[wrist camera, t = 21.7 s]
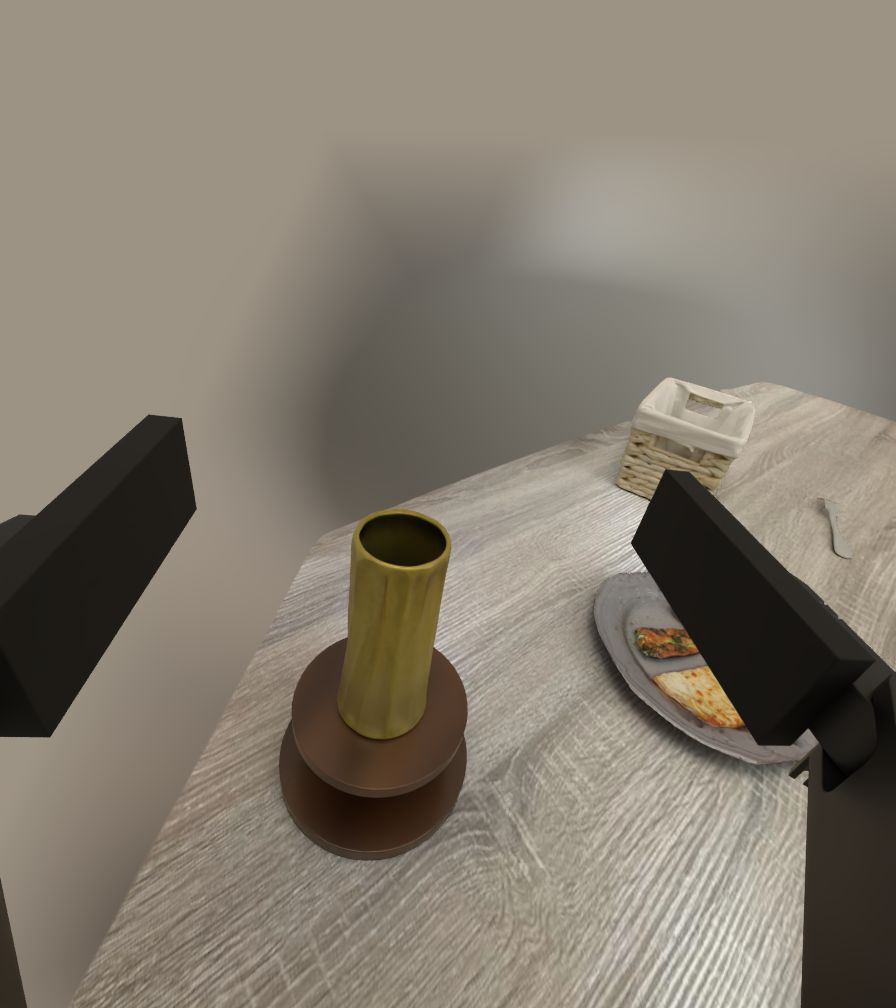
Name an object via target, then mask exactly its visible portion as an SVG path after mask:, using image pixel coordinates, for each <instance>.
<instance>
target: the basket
mask: <svg viewBox="0 0 896 1008" xmlns="http://www.w3.org/2000/svg"><path fill="white" fill-rule="evenodd" d="M688 399H691V400H695V401H696V402H700V403H703V404H707V405H709V406H712V407H716V408H720V409H721V411H720V414H719V416H718V417H717V418H711V417H707V416H704V415H701V414H698V413H695V412H693V411H690V410H688V409H686V407H685V406H686V404H687V401H688ZM755 414H756V409H755V406H754V405H753V403H752V402H751V401H748V400H743V399H740V398H737V397H734V396H731V395H728V394H724V393H721V392H718V391H715V390H711V389H708V388H705V387H701V386H698V385H695V384H692V383H688V382H683V381H680V380H677V379H674V378H666V379H665V380H663V381H662V382H661V383H660V384H659V385H658V386H657V387H656V388H655V389H654V390H653V391H652V392H651V393H650V394H649V395H648V396H647V397H646V398H645V399H644V400H643V401H642V403H641V404H640V405H639V407H638V409H637V412H636V415H635V417H634V419H633V421H632V425H631V431H630V435H629V439H628V442H627V447H626V449H625V454H624V455H623V457H622V461H621V466H620V471H619V474H618V477H617V480H616V484H617V485H618V486H619V487H621V488H623V489H625V490H628V491H631V492H633V493H635V494H638V495H640V496H643V497H646V498H648V499H650V500H651V499H652V497H653V495H654V492H655V490H656V488H657V486H658V484H659V482H660V479H661V477H662V475H663V473H664V471H665V469H669V470H678V471H688V472H690V473H691V474H692V475H693V476H694V477H695V478H696V479H697V480H698V481H699V482H700V483H701V484H702V485H703V486H704V487H705V488H706V489H707V490H708V491H709V492H710V493H711V494H712V495H714V491H715V490H717V488H718V487H719V485H720V483H721V481H722V478H723V477H724V476H725V472H727V471H728V469H729V465H730V464H731V463H732V462H733V460H735V459H736V458H739V456H740V454H741V452H742V449H743V447H744V445H745V444H746V441H747V439H748V437H749V435H750V432H751V429H752V425H753V421H754V418H755Z"/></svg>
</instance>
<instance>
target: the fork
mask: <svg viewBox="0 0 896 1008" xmlns="http://www.w3.org/2000/svg"><path fill="white" fill-rule="evenodd" d="M817 499H820V500H823V501H825V507H826V509H827V510H828V511H829V513H830V521H831V525H832V529H833V537H834V550H835V552H836V554H838V555H839V556H841V557H843V558H846V559H848V558H852V557H853V556H852V551H851V549H850V547H849V545H848V543H847V541H846V540H845V538H844V537H843V535H842V533H841V531H840V530H839V528H838V525H837V523H836V515H838V514H840V513H842V512H843V507H842V505H840V504H839V503H836V502H833V501H830V500H826V499H823V498H817Z"/></svg>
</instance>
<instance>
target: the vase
mask: <svg viewBox="0 0 896 1008" xmlns="http://www.w3.org/2000/svg"><path fill="white" fill-rule="evenodd" d="M450 552H451V539H450V536H449V534H448V532H447V530H446V529H445V528H444V527H443V526H442V525H441V524H440V523H439V522H438V521H436V520H435V519H433V518H431V517H429V516H426V515H424V514H422V513H419V512H415V511H411V510H405V509H391V510H382V511H378V512H375V513H372V514H370V515H368V516H366V517H365V518H363V519H362V520H361V521H360V522H359V524H358V525H357V527H356V529H355V531H354V534H353V538H352V546H351V569H350V590H349V606H348V641H347V648H346V654H345V659H344V665H343V669H342V675H341V681H340V686H339V690H338V694H337V703H338V709H339V713H340V715H341V717H342V718H343V720H344V721H345V723H346V724H347V725H348V726H349V727H351V728H352V729H353V730H354V731H356V732H357V733H359V734H360V735H362V736H365V737H368V738H372V739H391V738H395V737H398V736H400V735H402V734H404V733H406V732H408V731H409V730H411V729H412V728H413V727H414V726H415V725H416V724H417V723H418V722H419V720H420V719H421V717H422V716H423V713H424V711H425V708H426V693H427V685H428V678H429V672H430V665H431V659H432V653H433V646H434V640H435V635H436V630H437V624H438V617H439V611H440V605H441V599H442V593H443V587H444V582H445V577H446V572H447V567H448V563H449V558H450Z"/></svg>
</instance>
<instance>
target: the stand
mask: <svg viewBox="0 0 896 1008" xmlns="http://www.w3.org/2000/svg"><path fill="white" fill-rule="evenodd" d="M347 641H348V637H347V638H345V639H342V640H340V641H338V642H336V643H334V644H333V645H331V646H329V647H328V648H326V649H325V650H324V651H322V652H321V653H320V654H319V655H318V656H317V657H315V659H314V660H313V661H312V662H311V663H310V664H309V665H308V667H307V668H306V670H305V671H304V672H303V674H302V676H301V678H300V680H299V682H298V684H297V687H296V689H295V692H294V697H293V702H292V719H291V721H290V723H289V725H288V727H287V729H286V732H285V735H284V738H283V741H282V746H281V751H280V760H279V771H280V783H281V790H282V794H283V798H284V801H285V804H286V806H287V809H288V811H289V813H290V815H291V817H292V818H293V820H294V822H295V823H296V825H297V826H298V827H299V828H300V829H301V831H302V832H303V833H304V834H305V835H306V836H307V837H308V838H309V839H310V840H312V841H313V842H314V843H315V844H317V845H319V846H320V847H322V848H323V849H325V850H327V851H329V852H331V853H334V854H336V855H338V856H342V857H346V858H350V859H357V860H380V859H385V858H390V857H394V856H397V855H399V854H402V853H405V852H407V851H409V850H411V849H413V848H415V847H417V846H419V845H420V844H421V843H423V842H424V841H425V840H427V839H428V838H429V837H431V836H432V835H433V834H434V833H435V832H436V831H437V830H438V829H439V828H440V827H441V825H442V824H443V823H444V821H445V820H446V819H447V818H448V816H449V814H450V813H451V811H452V809H453V807H454V806H455V803H456V801H457V798H458V796H459V794H460V791H461V788H462V784H463V780H464V777H465V771H466V763H467V751H466V743H465V738H464V730H465V727H466V722H467V698H466V693H465V689H464V686H463V683H462V681H461V679H460V677H459V675H458V673H457V671H456V670H455V668H454V667H453V665H452V664H451V663H450V662H449V660H448V659H447V658H446V657H445V656H444V655H443V654H442V653H440V652H439V651H438V650H436V649H435V648H434V647H433V653H432V659H431V665H430V672H429V678H428V685H427V693H426V708H425V711H424V713H423V716H422V717H421V719H420V720H419V722H418V723H417V724H416V725H415V726H414V727H413V728H412V729H411V730H409V731H408V732H406V733H404V734H402V735H400V736H398V737H395V738H391V739H372V738H368V737H365V736H362V735H360V734H359V733H357V732H356V731H354V730H353V729H352V728H351V727H349V726H348V725H347V724H346V723H345V721H344V720H343V718H342V717H341V715H340V713H339V709H338V703H337V694H338V690H339V686H340V681H341V675H342V669H343V665H344V659H345V654H346V648H347Z"/></svg>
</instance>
